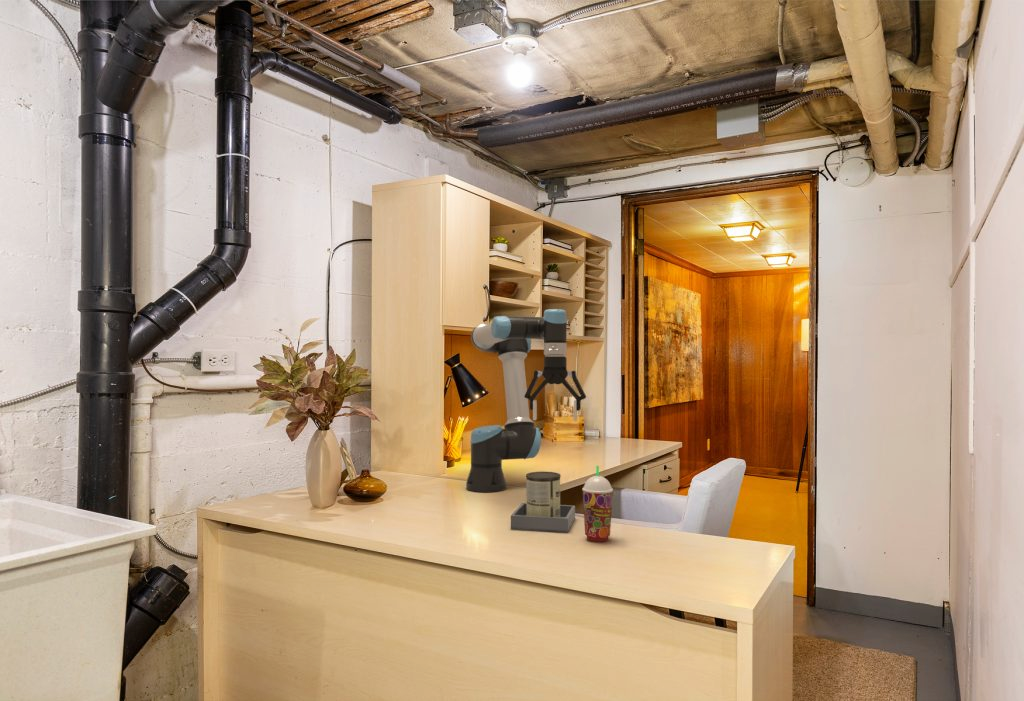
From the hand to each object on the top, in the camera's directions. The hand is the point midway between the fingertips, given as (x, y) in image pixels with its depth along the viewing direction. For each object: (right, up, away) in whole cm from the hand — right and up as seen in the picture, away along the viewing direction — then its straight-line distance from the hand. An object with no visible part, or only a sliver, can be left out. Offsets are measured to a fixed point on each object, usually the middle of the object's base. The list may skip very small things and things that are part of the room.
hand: (555, 420), depth 217 cm
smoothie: (+9, -29, -38) cm, 48 cm away
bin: (-5, -29, -22) cm, 36 cm away
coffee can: (-5, -28, -22) cm, 36 cm away
